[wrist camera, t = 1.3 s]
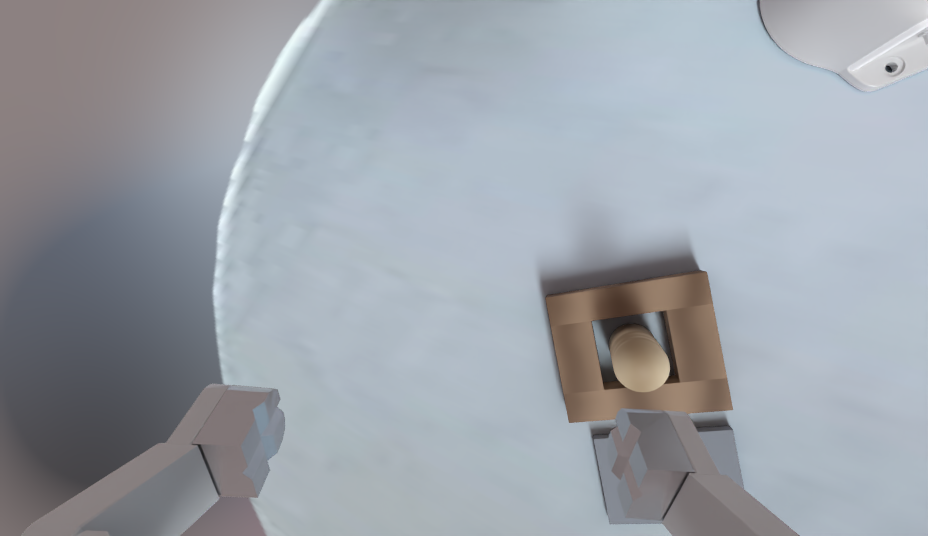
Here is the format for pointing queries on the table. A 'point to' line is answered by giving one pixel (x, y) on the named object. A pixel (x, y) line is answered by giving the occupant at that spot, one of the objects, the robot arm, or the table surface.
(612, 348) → the tan domed cylinder
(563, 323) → the well board
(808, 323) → the table surface
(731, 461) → the slate mat
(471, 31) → the table surface
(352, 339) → the table surface
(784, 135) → the table surface
